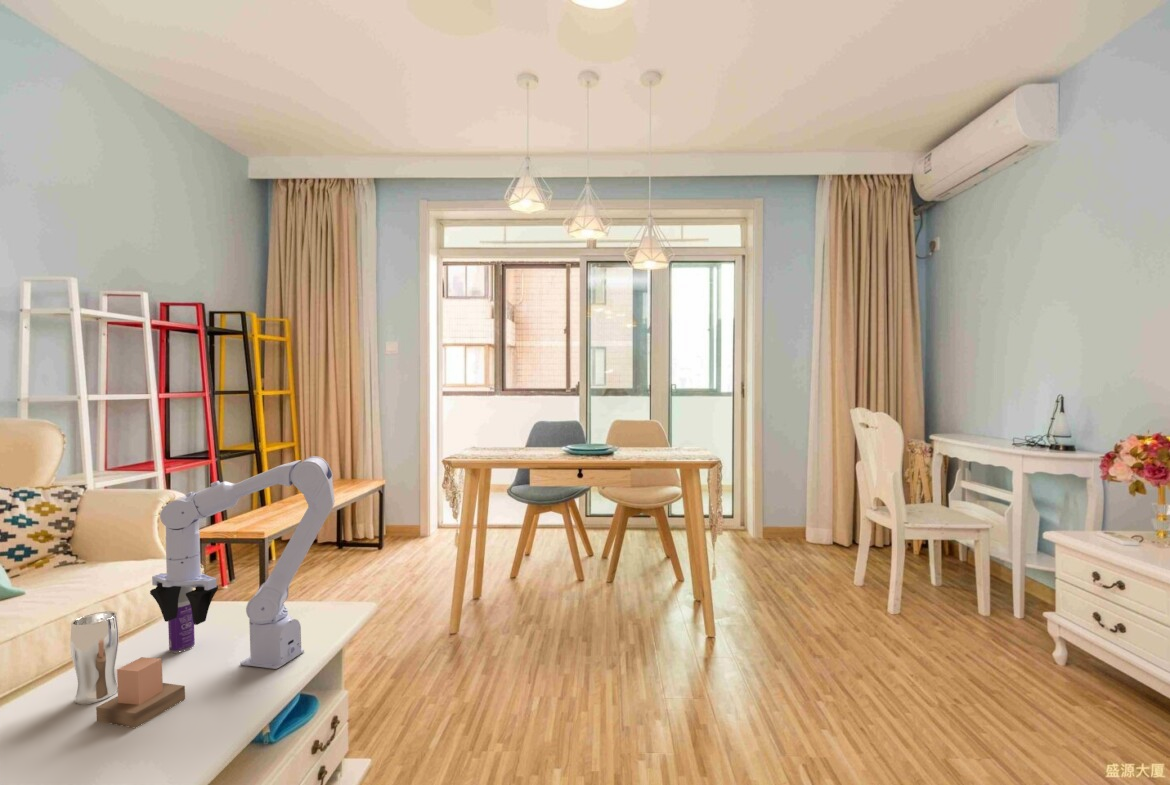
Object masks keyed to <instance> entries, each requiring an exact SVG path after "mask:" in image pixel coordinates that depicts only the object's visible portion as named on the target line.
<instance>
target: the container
mask: <svg viewBox="0 0 1170 785" xmlns="http://www.w3.org/2000/svg"><path fill="white" fill-rule="evenodd" d="M193 590H194V589H193V587H181V590H180V594H179V599H178V613H177V618H175V619H172V620H170V621H168V622H167V624H168V625H167V627H168V652H169V651H170V652H169V653H171V652H179V651H184V650H187V651H189V650H191V649H193V648H195V646H196V645H195V644H196V643H195V625H194V623H193V618H192V609H191V605H190V602H189V600H188V598H187V596H186V593H188V592H190V591H193ZM194 645H195V646H194ZM192 647H193V648H192ZM190 648H191V649H190ZM188 649H189V650H188ZM184 652H185V651H184ZM179 653H180V652H179Z"/></svg>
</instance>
